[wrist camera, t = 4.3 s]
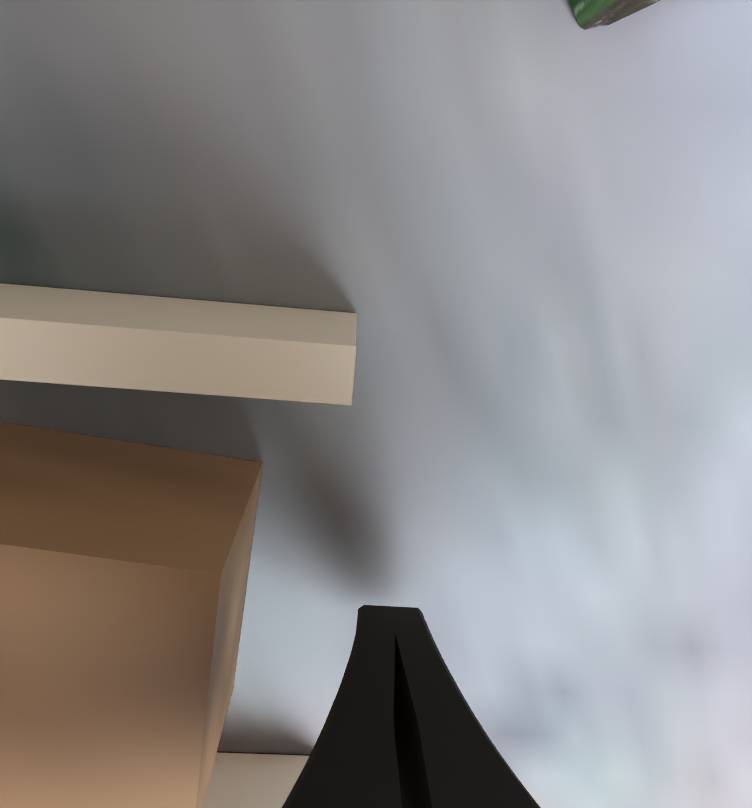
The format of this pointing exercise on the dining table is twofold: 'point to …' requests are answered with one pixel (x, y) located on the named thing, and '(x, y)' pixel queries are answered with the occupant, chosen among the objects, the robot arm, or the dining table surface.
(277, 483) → the dining table surface
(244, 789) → the trap lane
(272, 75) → the dining table surface
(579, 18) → the chalk box
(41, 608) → the walnut block
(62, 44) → the dining table surface
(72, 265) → the dining table surface
